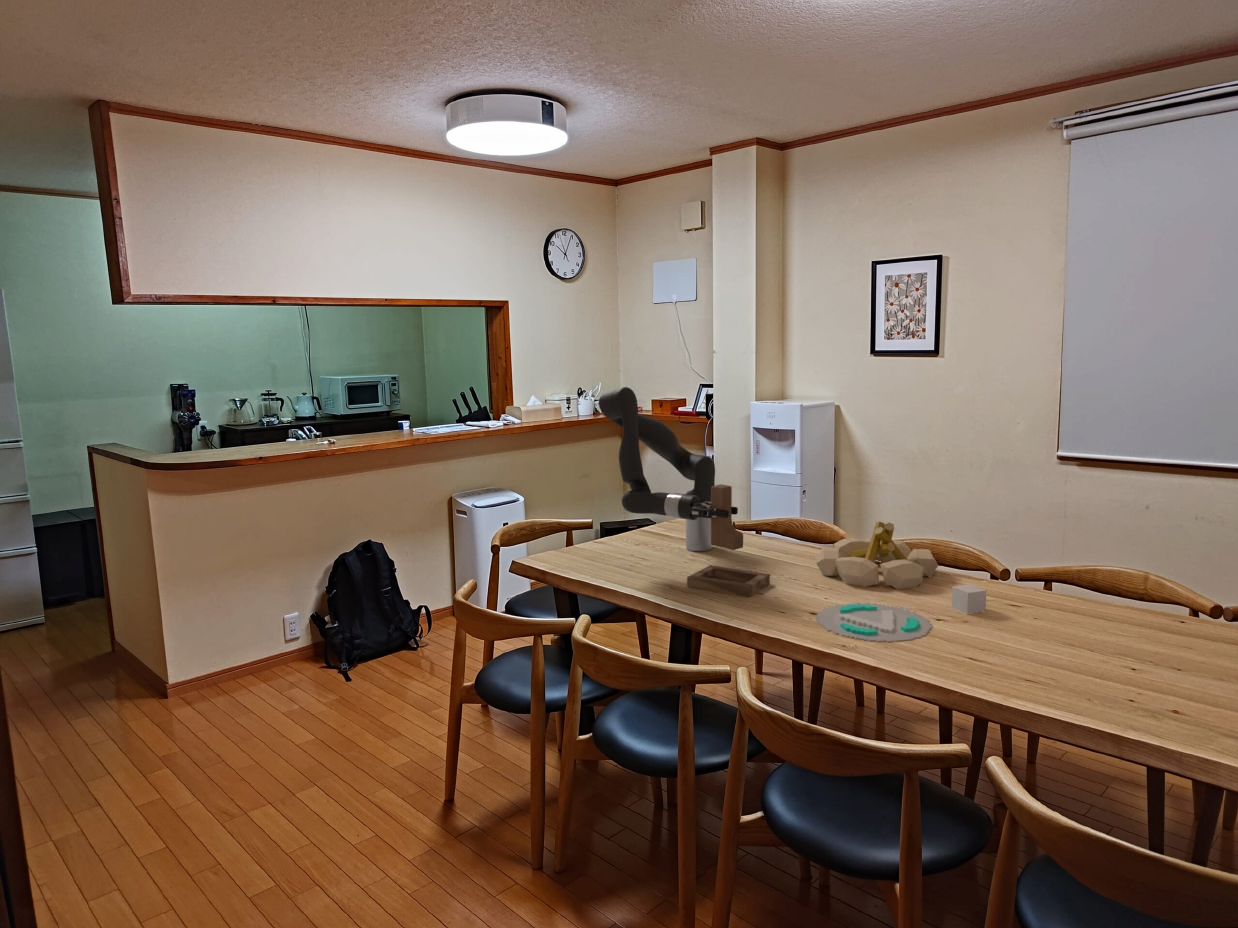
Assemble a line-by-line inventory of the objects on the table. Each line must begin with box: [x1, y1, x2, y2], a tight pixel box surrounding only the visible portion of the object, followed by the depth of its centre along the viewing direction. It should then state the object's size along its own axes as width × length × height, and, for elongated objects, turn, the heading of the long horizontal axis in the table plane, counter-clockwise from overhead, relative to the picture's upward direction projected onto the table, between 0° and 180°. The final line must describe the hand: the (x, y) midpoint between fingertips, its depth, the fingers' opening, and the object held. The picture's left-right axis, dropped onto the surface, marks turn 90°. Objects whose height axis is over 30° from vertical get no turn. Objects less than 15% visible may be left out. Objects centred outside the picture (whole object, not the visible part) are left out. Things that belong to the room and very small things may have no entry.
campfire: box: [815, 521, 939, 590], centre depth 253 cm, size 35×34×17 cm
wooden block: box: [711, 484, 744, 551], centre depth 241 cm, size 9×4×18 cm, turn 42°
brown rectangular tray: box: [686, 564, 771, 598], centre depth 245 cm, size 15×20×3 cm
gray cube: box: [950, 583, 987, 615], centre depth 219 cm, size 6×6×6 cm
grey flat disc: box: [815, 602, 934, 643], centre depth 211 cm, size 28×28×2 cm
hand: (732, 512), depth 241 cm, fingers closed on wooden block, 5 cm apart
